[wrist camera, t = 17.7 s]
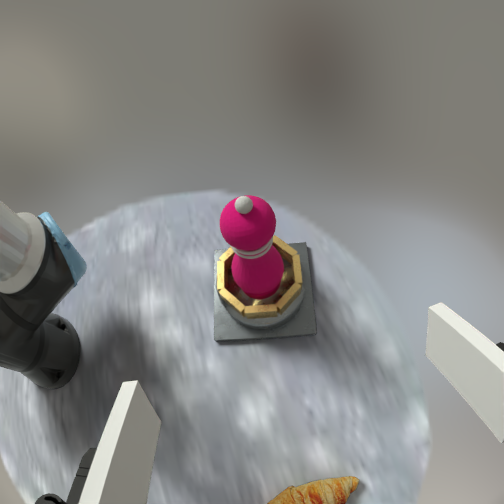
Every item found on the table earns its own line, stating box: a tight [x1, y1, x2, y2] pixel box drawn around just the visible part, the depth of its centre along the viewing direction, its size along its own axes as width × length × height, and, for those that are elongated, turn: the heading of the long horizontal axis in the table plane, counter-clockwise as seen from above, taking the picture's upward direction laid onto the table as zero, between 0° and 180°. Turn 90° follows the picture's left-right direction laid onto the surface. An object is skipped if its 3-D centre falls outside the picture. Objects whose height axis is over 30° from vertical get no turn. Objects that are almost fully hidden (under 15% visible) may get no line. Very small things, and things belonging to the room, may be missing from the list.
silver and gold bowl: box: [214, 235, 317, 341], centre depth 49 cm, size 16×16×8 cm
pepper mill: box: [220, 195, 284, 299], centre depth 39 cm, size 7×7×20 cm
